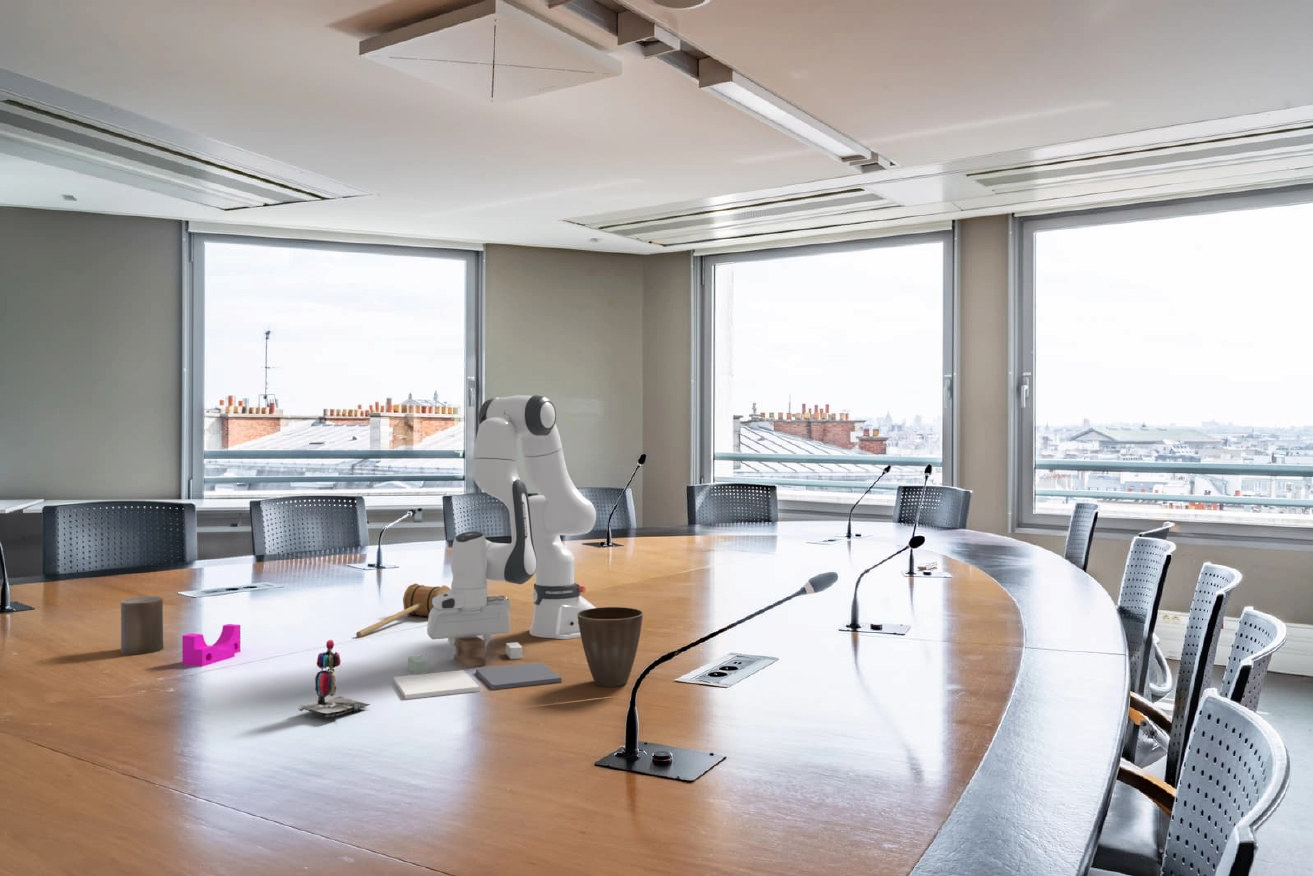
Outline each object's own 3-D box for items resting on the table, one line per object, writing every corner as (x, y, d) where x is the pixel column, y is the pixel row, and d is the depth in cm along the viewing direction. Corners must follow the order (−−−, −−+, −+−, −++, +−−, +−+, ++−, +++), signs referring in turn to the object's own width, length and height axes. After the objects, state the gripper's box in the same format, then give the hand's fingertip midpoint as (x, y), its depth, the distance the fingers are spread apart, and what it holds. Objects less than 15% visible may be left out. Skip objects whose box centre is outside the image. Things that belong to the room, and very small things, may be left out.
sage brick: (408, 669, 231) (408, 657, 231) (420, 667, 232) (420, 655, 232) (416, 675, 226) (416, 662, 226) (428, 673, 227) (428, 660, 227)
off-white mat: (463, 674, 225) (463, 670, 225) (479, 691, 211) (479, 686, 211) (393, 681, 219) (393, 677, 219) (405, 699, 204) (405, 694, 204)
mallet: (342, 650, 266) (339, 615, 265) (422, 610, 301) (420, 579, 300) (378, 654, 262) (375, 618, 261) (455, 613, 296) (453, 582, 295)
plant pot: (593, 695, 208) (593, 621, 208) (567, 679, 221) (567, 610, 221) (654, 686, 215) (654, 615, 215) (625, 671, 228) (625, 604, 228)
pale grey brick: (506, 654, 246) (506, 643, 246) (517, 653, 247) (517, 642, 247) (510, 660, 241) (510, 648, 240) (522, 659, 242) (522, 647, 241)
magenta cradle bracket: (202, 668, 232) (202, 637, 232) (182, 666, 234) (182, 635, 234) (248, 654, 246) (248, 625, 246) (229, 652, 248) (228, 624, 248)
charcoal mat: (540, 666, 233) (540, 662, 233) (561, 682, 219) (561, 677, 219) (475, 673, 227) (475, 668, 227) (492, 689, 212) (492, 685, 212)
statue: (327, 723, 188) (326, 647, 188) (296, 716, 193) (296, 642, 193) (370, 710, 197) (370, 637, 197) (340, 703, 202) (340, 632, 202)
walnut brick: (473, 657, 243) (473, 633, 243) (485, 666, 234) (485, 641, 234) (453, 659, 240) (453, 635, 240) (465, 668, 232) (465, 643, 231)
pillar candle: (169, 652, 248) (168, 594, 248) (128, 658, 241) (128, 599, 241) (155, 646, 254) (154, 590, 254) (114, 652, 247) (114, 594, 247)
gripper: (506, 593, 244) (506, 647, 244) (425, 599, 236) (425, 655, 236) (513, 597, 238) (513, 652, 238) (430, 603, 230) (430, 660, 230)
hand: (469, 653), depth 237 cm, fingers closed on walnut brick, 5 cm apart
